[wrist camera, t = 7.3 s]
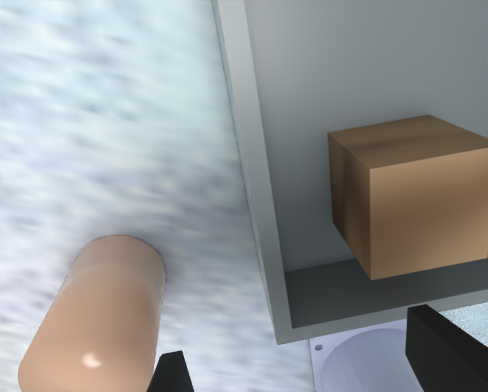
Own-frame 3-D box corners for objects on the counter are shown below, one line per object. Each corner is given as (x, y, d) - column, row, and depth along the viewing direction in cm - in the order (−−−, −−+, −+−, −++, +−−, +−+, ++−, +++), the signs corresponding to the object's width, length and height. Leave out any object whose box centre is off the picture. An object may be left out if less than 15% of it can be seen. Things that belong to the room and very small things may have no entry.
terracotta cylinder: (175, 299, 22) (165, 409, 16) (91, 316, 22) (47, 433, 16) (153, 226, 20) (131, 320, 14) (59, 245, 20) (-6, 347, 14)
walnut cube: (423, 205, 20) (487, 258, 16) (332, 222, 20) (370, 280, 16) (428, 114, 18) (503, 144, 14) (327, 132, 18) (369, 169, 14)
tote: (484, 234, 23) (555, 288, 18) (261, 279, 22) (277, 345, 18) (532, -138, 15) (673, -206, 11) (197, -79, 15) (196, -123, 10)
